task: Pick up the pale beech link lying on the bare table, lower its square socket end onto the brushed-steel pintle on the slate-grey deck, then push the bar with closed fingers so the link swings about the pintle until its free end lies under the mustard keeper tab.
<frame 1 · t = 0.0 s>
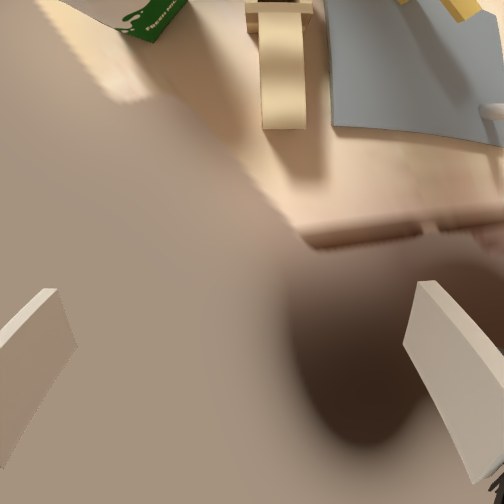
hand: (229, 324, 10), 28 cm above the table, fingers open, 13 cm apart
link: (279, 129, 34), on the table
deck: (427, 57, 29), on the table
milk carton: (149, 11, 28), on the table
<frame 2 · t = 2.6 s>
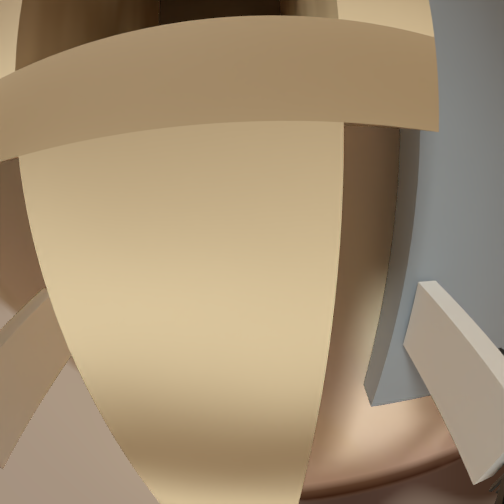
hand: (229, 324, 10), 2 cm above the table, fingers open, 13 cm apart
link: (240, 398, 14), on the table
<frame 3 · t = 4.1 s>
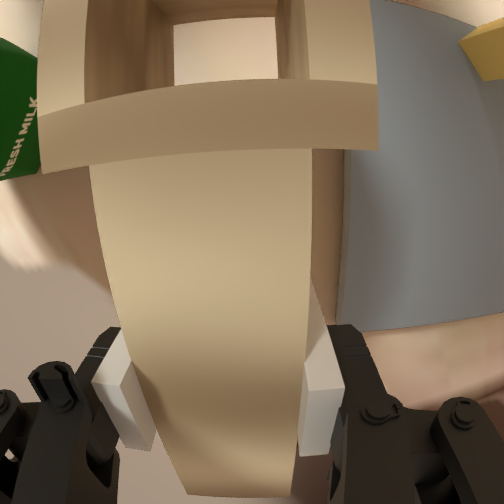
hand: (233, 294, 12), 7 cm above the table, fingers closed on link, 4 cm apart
link: (243, 382, 16), point 6 cm above the table, touching gripper
milk carton: (27, 108, 16), on the table
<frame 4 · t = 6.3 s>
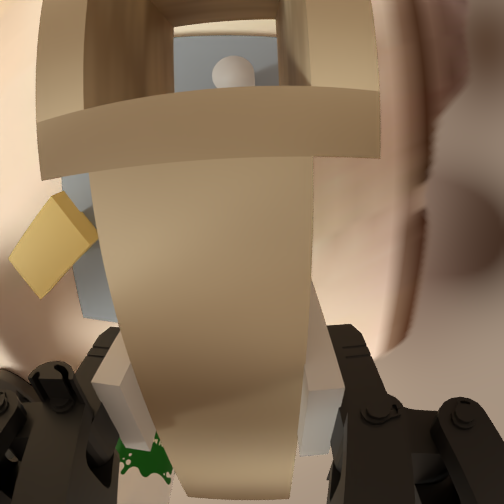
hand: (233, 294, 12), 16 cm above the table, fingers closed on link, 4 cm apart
link: (243, 385, 16), point 15 cm above the table, touching gripper
deck: (169, 191, 27), on the table
milk carton: (151, 427, 40), on the table
when the fingers open (3 cm above the table, at t = 8.9 s): link stays where it is, resting on deck.
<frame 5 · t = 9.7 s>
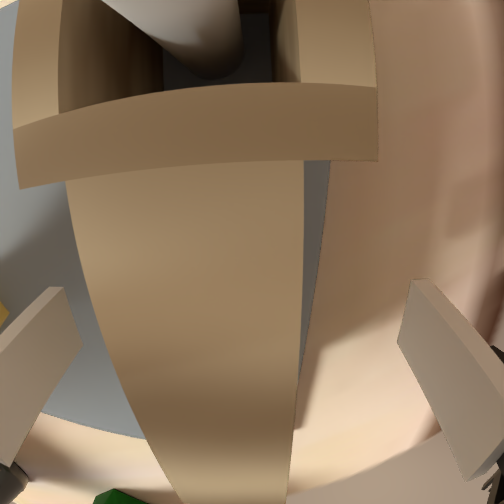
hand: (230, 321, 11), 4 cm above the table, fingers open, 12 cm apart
link: (239, 388, 16), point 1 cm above the table, touching deck
deck: (94, 247, 14), on the table
milk carton: (128, 502, 27), on the table
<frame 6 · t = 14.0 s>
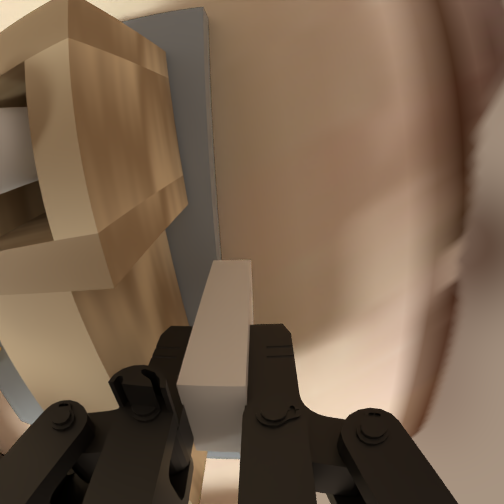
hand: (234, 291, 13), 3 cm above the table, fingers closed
link: (182, 407, 17), point 2 cm above the table, touching deck, gripper
deck: (55, 294, 16), on the table
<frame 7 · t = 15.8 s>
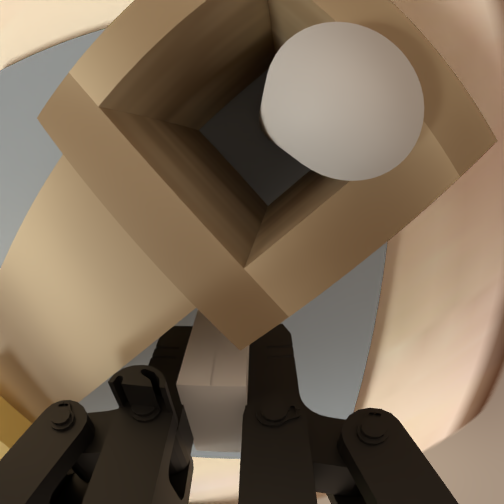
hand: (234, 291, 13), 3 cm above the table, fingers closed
link: (68, 337, 15), point 2 cm above the table, tilted 7°, touching deck, gripper
deck: (169, 297, 16), on the table
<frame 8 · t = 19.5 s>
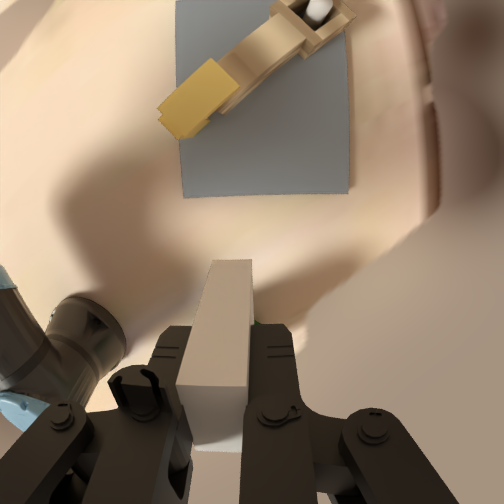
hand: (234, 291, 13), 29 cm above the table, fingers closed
link: (213, 104, 35), point 1 cm above the table, touching deck
deck: (262, 88, 35), on the table
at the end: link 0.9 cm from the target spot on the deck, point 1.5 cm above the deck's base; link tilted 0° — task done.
